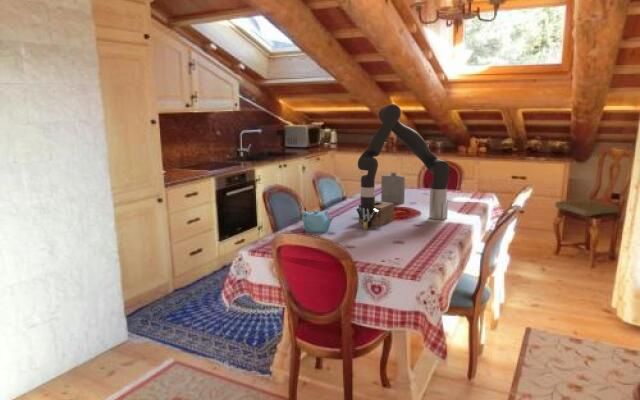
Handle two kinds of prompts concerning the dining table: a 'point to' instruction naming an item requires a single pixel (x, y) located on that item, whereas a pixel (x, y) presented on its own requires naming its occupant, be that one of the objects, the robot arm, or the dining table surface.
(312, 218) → the teapot
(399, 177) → the hip flask
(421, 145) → the robot arm
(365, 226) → the wooden block
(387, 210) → the box
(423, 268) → the dining table surface
